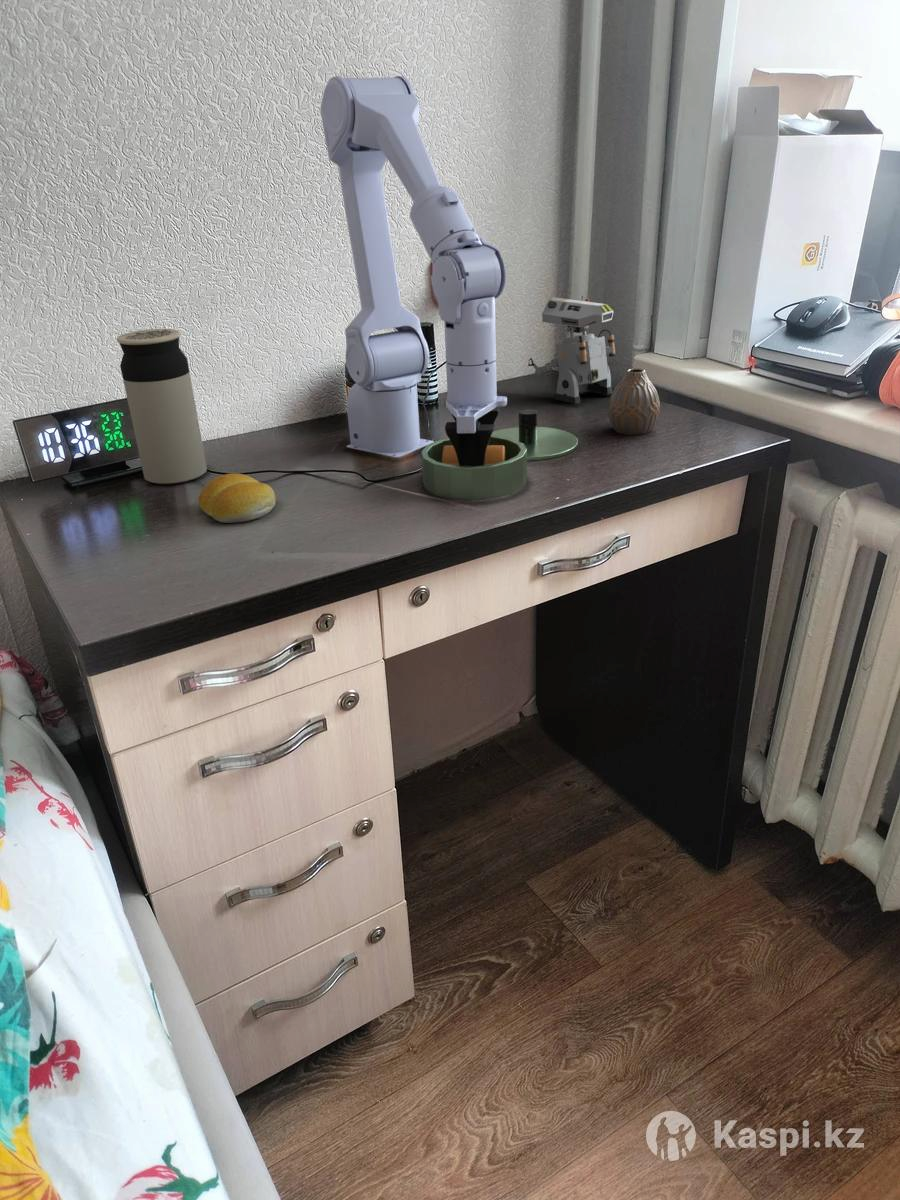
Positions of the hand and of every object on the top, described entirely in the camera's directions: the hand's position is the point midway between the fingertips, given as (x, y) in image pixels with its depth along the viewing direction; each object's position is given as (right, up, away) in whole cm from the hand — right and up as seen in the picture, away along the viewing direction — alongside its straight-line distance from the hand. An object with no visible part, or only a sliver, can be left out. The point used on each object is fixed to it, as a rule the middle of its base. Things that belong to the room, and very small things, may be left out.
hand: (474, 474), depth 105 cm
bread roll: (-28, -5, -3) cm, 28 cm away
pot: (0, -1, +1) cm, 1 cm away
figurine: (+17, +17, +35) cm, 42 cm away
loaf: (0, -1, 0) cm, 1 cm away
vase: (+23, +8, +16) cm, 29 cm away
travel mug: (-39, +1, +9) cm, 40 cm away
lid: (+8, +6, +12) cm, 15 cm away
